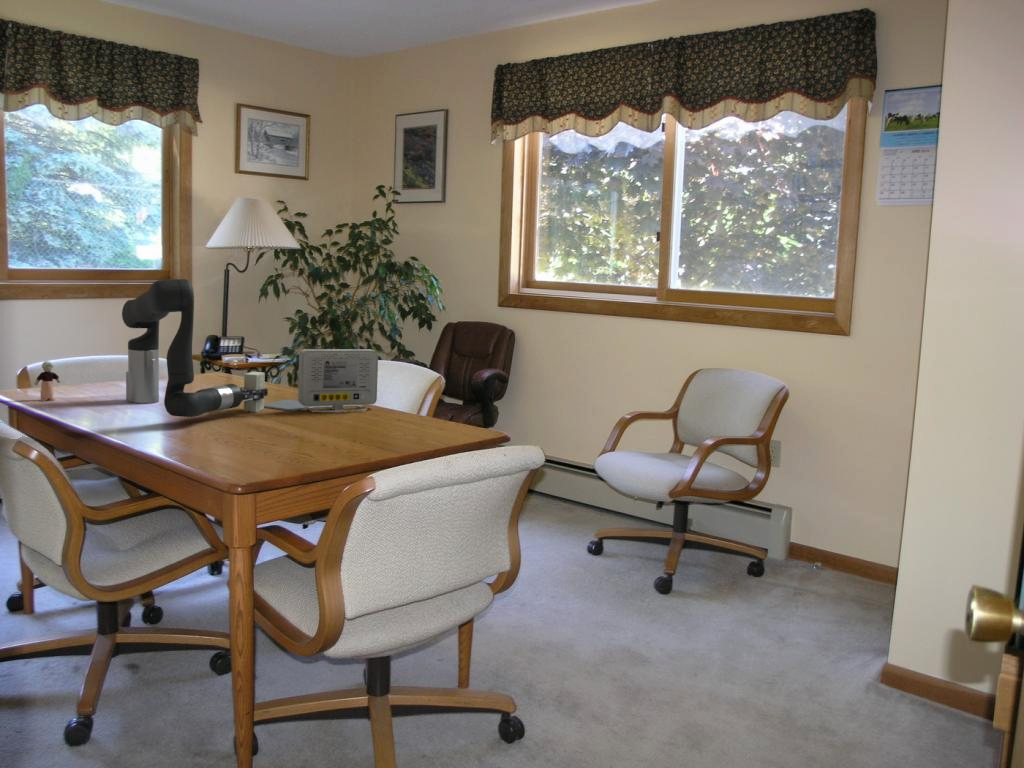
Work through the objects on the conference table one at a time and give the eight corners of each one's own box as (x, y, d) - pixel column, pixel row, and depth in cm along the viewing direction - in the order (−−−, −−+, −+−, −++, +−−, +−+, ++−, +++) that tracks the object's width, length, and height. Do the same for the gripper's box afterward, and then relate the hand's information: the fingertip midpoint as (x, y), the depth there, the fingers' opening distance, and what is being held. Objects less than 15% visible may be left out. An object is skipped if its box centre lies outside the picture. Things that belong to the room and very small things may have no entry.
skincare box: (251, 408, 287) (252, 371, 285) (264, 409, 286) (265, 372, 284) (243, 411, 280) (243, 373, 279) (256, 412, 280) (256, 374, 278)
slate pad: (259, 406, 290) (259, 404, 290) (286, 401, 303) (286, 399, 302) (293, 411, 284) (293, 409, 284) (319, 405, 297) (319, 404, 297)
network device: (370, 406, 302) (372, 348, 299) (379, 411, 294) (380, 351, 291) (296, 408, 290) (297, 348, 287) (302, 413, 282) (303, 351, 279)
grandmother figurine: (40, 402, 278) (39, 362, 276) (33, 400, 280) (32, 361, 278) (63, 399, 284) (62, 360, 283) (56, 398, 286) (55, 359, 284)
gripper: (241, 387, 266) (277, 381, 281) (204, 382, 272) (241, 377, 287) (241, 412, 267) (277, 404, 283) (204, 406, 273) (241, 399, 288)
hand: (259, 390), depth 285 cm, fingers closed on skincare box, 5 cm apart
